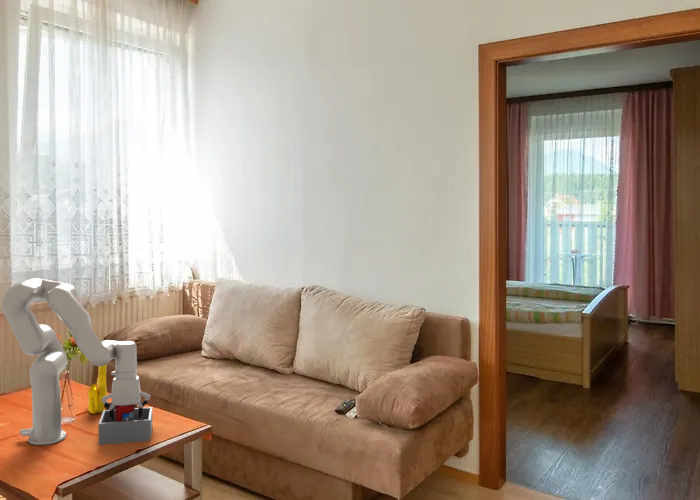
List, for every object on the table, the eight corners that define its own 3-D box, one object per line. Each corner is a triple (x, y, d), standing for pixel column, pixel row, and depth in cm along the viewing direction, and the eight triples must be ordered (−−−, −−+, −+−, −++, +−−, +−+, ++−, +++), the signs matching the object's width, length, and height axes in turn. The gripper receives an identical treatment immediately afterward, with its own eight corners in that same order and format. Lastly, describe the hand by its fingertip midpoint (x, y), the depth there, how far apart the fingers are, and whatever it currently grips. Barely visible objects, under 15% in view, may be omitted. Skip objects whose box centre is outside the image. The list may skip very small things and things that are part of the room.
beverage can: (128, 437, 220) (128, 406, 219) (111, 435, 221) (111, 404, 220) (138, 430, 226) (137, 400, 225) (122, 428, 228) (121, 398, 227)
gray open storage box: (98, 445, 215) (98, 423, 214) (103, 430, 228) (103, 410, 227) (150, 440, 220) (150, 420, 219) (152, 426, 233) (152, 407, 232)
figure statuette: (84, 406, 253) (83, 356, 251) (103, 403, 257) (103, 354, 256) (91, 420, 238) (90, 367, 236) (111, 416, 243) (111, 364, 241)
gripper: (100, 378, 216) (100, 423, 217) (149, 375, 221) (149, 420, 222) (102, 372, 223) (103, 416, 225) (150, 370, 228) (150, 413, 229)
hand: (126, 418), depth 223 cm, fingers open, 9 cm apart
